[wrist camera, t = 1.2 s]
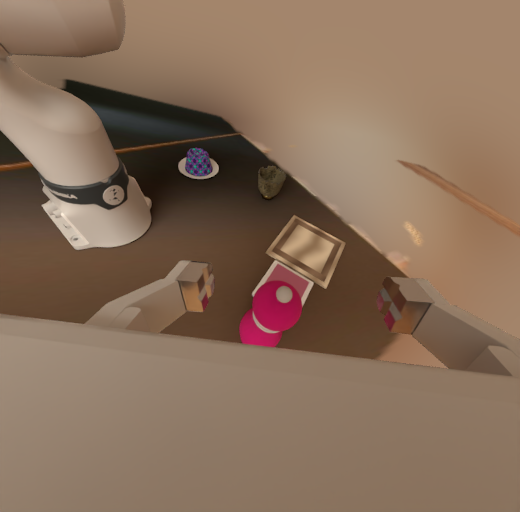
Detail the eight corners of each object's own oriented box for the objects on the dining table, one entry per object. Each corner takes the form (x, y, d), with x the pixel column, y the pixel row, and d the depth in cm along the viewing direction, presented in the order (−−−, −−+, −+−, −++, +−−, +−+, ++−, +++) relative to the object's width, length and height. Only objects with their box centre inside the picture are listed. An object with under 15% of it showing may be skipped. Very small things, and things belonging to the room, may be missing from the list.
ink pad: (251, 295, 41) (252, 291, 40) (274, 262, 47) (276, 258, 45) (293, 322, 40) (296, 319, 38) (311, 285, 45) (315, 281, 44)
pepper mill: (235, 317, 38) (247, 264, 22) (271, 312, 40) (307, 259, 23) (240, 359, 34) (259, 332, 18) (279, 351, 36) (329, 320, 20)
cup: (272, 187, 62) (278, 163, 56) (283, 203, 59) (291, 180, 52) (250, 190, 60) (254, 166, 53) (260, 207, 56) (266, 183, 50)
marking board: (265, 253, 48) (266, 251, 47) (293, 216, 57) (294, 214, 56) (325, 288, 45) (326, 287, 44) (344, 244, 54) (346, 242, 53)
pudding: (170, 165, 60) (166, 148, 56) (201, 153, 66) (200, 137, 62) (195, 186, 57) (194, 169, 53) (226, 172, 63) (227, 156, 59)
